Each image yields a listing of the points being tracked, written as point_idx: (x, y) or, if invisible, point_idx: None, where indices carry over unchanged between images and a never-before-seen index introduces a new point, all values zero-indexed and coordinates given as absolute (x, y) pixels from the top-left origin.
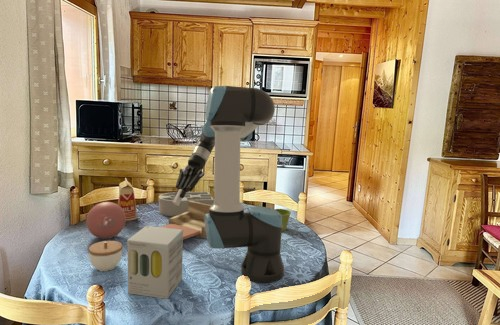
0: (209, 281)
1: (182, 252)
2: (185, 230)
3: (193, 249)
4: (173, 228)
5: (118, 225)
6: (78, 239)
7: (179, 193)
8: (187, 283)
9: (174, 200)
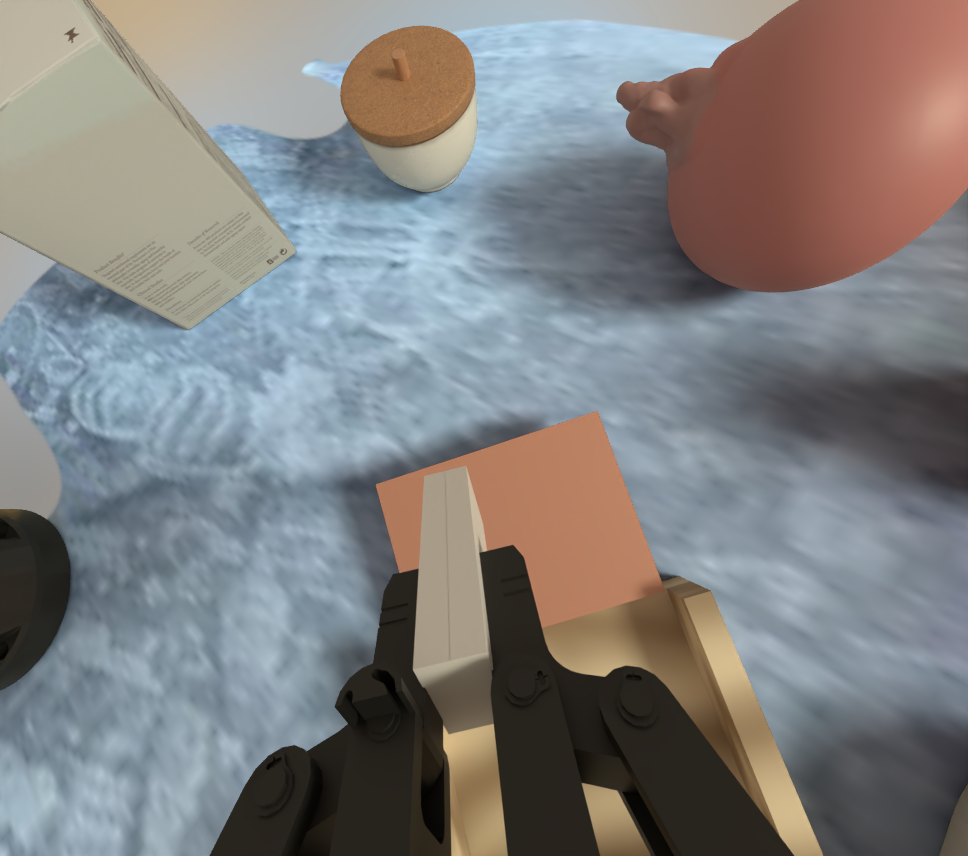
0: (110, 392)
1: (72, 269)
2: None
3: (340, 511)
4: (548, 529)
5: (677, 205)
6: None
7: (422, 578)
8: (155, 329)
9: (447, 484)
